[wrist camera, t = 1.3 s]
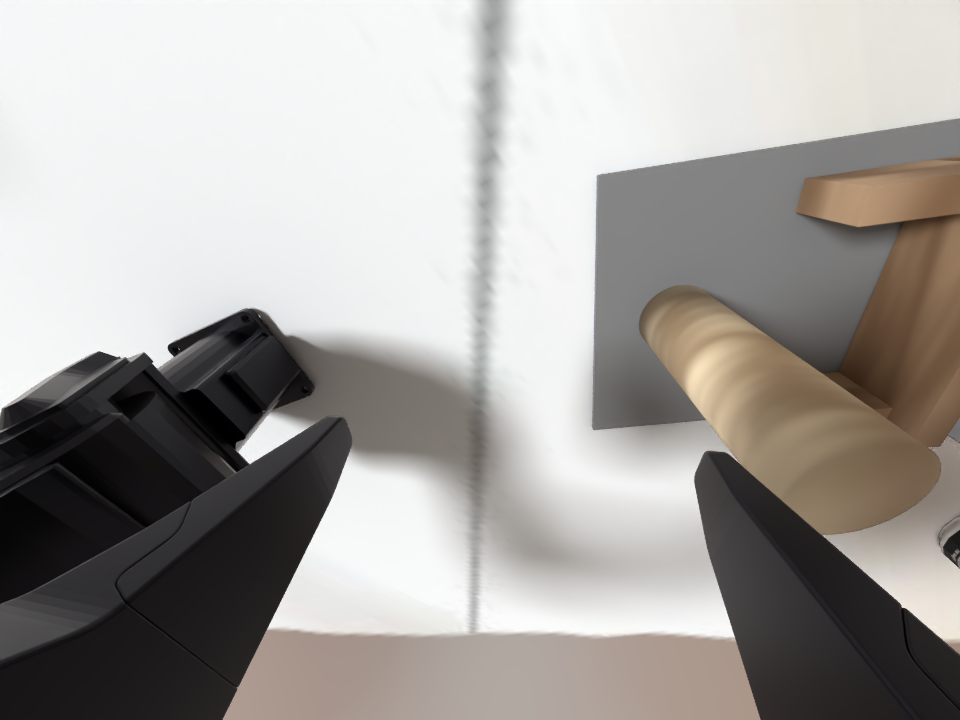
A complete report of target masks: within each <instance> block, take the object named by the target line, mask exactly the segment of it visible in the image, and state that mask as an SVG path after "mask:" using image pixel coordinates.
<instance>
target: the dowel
mask: <svg viewBox="0 0 960 720" xmlns="http://www.w3.org/2000/svg"><path fill="white" fill-rule="evenodd" d="M639 330H640V334H641V336H642V338H643V339H644V340H645V342H646V343H647V344H648V345H649V347H650V348H651V349H652V351H653V352H654V353H655V354H656V356H657V357H658V358H659V360H660V361H661V362H662V363H663V365H664V366H665V367H666V369H667V370H668V371H669V373H670V374H671V375H672V376H673V378H674V379H675V380H676V382H677V383H678V384H679V385H680V387H681V388H682V389H683V391H684V392H685V393H686V394H687V396H688V397H689V398H690V400H691V401H692V402H693V404H694V405H695V406H696V407H697V409H698V410H699V411H700V413H701V414H702V415H703V416H704V418H705V419H706V420H707V422H708V423H709V424H710V425H711V427H712V428H713V429H714V431H715V432H716V433H717V434H718V436H719V437H720V438H721V440H722V441H723V442H724V444H725V445H726V446H727V447H728V449H729V450H730V451H731V453H732V454H733V455H734V456H735V458H736V459H737V460H738V462H739V463H740V464H741V465H742V466H743V467H744V468H745V469H746V470H747V471H749V472H750V473H751V474H752V475H753V476H754V477H755V478H757V479H758V480H759V481H760V482H761V483H762V484H764V485H765V486H766V487H767V488H768V489H769V490H770V491H772V492H773V493H774V494H775V495H776V496H777V497H778V498H780V499H781V500H782V501H783V502H784V503H785V504H787V505H788V506H789V507H790V508H791V509H792V510H793V511H795V512H796V513H797V514H798V515H799V516H800V517H801V518H803V519H804V520H805V521H806V522H807V523H808V524H809V525H811V526H812V527H813V528H814V529H815V530H816V531H818V532H819V533H820V534H821V535H831V534H842V533H848V532H853V531H858V530H862V529H865V528H869V527H872V526H875V525H878V524H880V523H883V522H885V521H888V520H890V519H892V518H894V517H896V516H898V515H900V514H902V513H903V512H905V511H907V510H908V509H910V508H911V507H913V506H914V505H916V504H917V503H918V502H919V501H921V500H922V499H923V498H924V497H925V496H926V495H927V494H928V493H929V492H930V491H931V490H932V488H933V487H934V486H935V484H936V482H937V481H938V478H939V476H940V472H941V463H940V460H939V458H938V456H937V455H936V454H935V453H934V452H933V451H932V450H930V449H929V448H928V447H926V446H925V445H923V444H922V443H920V442H919V441H918V440H916V439H915V438H913V437H912V436H910V435H909V434H908V433H906V432H905V431H903V430H902V429H900V428H899V427H898V426H896V425H895V424H893V423H892V422H890V421H889V420H888V419H886V418H885V417H883V416H882V415H880V414H879V413H878V412H876V411H875V410H873V409H872V408H871V407H869V406H868V405H866V404H865V403H863V402H862V401H861V400H859V399H858V398H856V397H855V396H853V395H852V394H851V393H849V392H848V391H846V390H845V389H843V388H842V387H841V386H839V385H838V384H836V383H835V382H833V381H832V380H831V379H829V378H828V377H826V376H825V375H823V374H822V373H821V372H819V371H818V370H816V369H815V368H813V367H812V366H811V365H809V364H808V363H806V362H805V361H803V360H802V359H801V358H799V357H798V356H796V355H795V354H793V353H792V352H791V351H789V350H788V349H786V348H785V347H783V346H782V345H781V344H779V343H778V342H776V341H775V340H773V339H772V338H771V337H769V336H768V335H766V334H765V333H763V332H762V331H761V330H759V329H758V328H756V327H755V326H753V325H752V324H751V323H749V322H748V321H746V320H745V319H743V318H742V317H741V316H739V315H738V314H736V313H735V312H733V311H732V310H731V309H729V308H728V307H726V306H725V305H723V304H722V303H721V302H719V301H718V300H716V299H715V298H713V297H712V296H711V295H709V294H708V293H706V292H705V291H703V290H702V289H700V288H698V287H696V286H692V285H678V286H673V287H670V288H668V289H665V290H663V291H662V292H660V293H658V294H657V295H656V296H654V297H653V298H652V299H651V300H650V301H649V302H648V303H647V305H646V306H645V308H644V309H643V311H642V313H641V316H640V320H639Z"/></svg>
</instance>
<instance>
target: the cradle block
mask: <svg viewBox="0 0 960 720" xmlns="http://www.w3.org/2000/svg"><path fill="white" fill-rule="evenodd" d="M796 213H800V214H804V215H809V216H813V217H817V218H822V219H826V220H830V221H834V222H839V223H843V224H847V225H852V226H856V227H863V226H870V225H878V224H885V223H893V222H900V221H904V222H903V224H902V226H901V229H900V231H899V233H898V236H897V238H896V240H895V243H894V245H893V247H892V249H891V252H890V254H889V256H888V259H887V261H886V263H885V266H884V268H883V270H882V272H881V275H880V277H879V279H878V282H877V284H876V286H875V289H874V291H873V293H872V296H871V298H870V300H869V302H868V305H867V307H866V309H865V312H864V314H863V316H862V319H861V321H860V323H859V325H858V328H857V330H856V332H855V335H854V337H853V339H852V342H851V344H850V346H849V349H848V351H847V353H846V355H845V358H844V360H843V362H842V365H841V367H840V369H839V372H832V373H822V374H823V375H825V376H826V377H828V378H829V379H831V380H832V381H833V382H835V383H836V384H838V385H839V386H841V387H842V388H843V389H845V390H846V391H848V392H849V393H851V394H852V395H853V396H855V397H856V398H858V399H859V400H861V401H862V402H863V403H865V404H866V405H868V406H869V407H871V408H872V409H873V410H875V411H876V412H878V413H879V414H880V415H882V416H883V417H885V418H886V419H888V420H889V421H890V422H892V423H893V424H895V425H896V426H898V427H899V428H900V429H902V430H903V431H905V432H906V433H908V434H909V435H910V436H912V437H913V438H915V439H916V440H918V441H919V442H920V443H922V444H923V445H925V446H926V447H938V446H941V444H942V443H943V441H944V440H945V438H946V437H947V435H948V434H949V433H950V431H951V430H952V428H953V427H954V425H955V424H956V422H957V421H958V420H959V418H960V156H953V157H947V158H940V159H933V160H926V161H920V162H913V163H906V164H899V165H892V166H886V167H879V168H872V169H865V170H859V171H852V172H845V173H838V174H832V175H825V176H818V177H811V178H805V181H804V185H803V188H802V192H801V195H800V199H799V202H798V206H797V209H796Z"/></svg>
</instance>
